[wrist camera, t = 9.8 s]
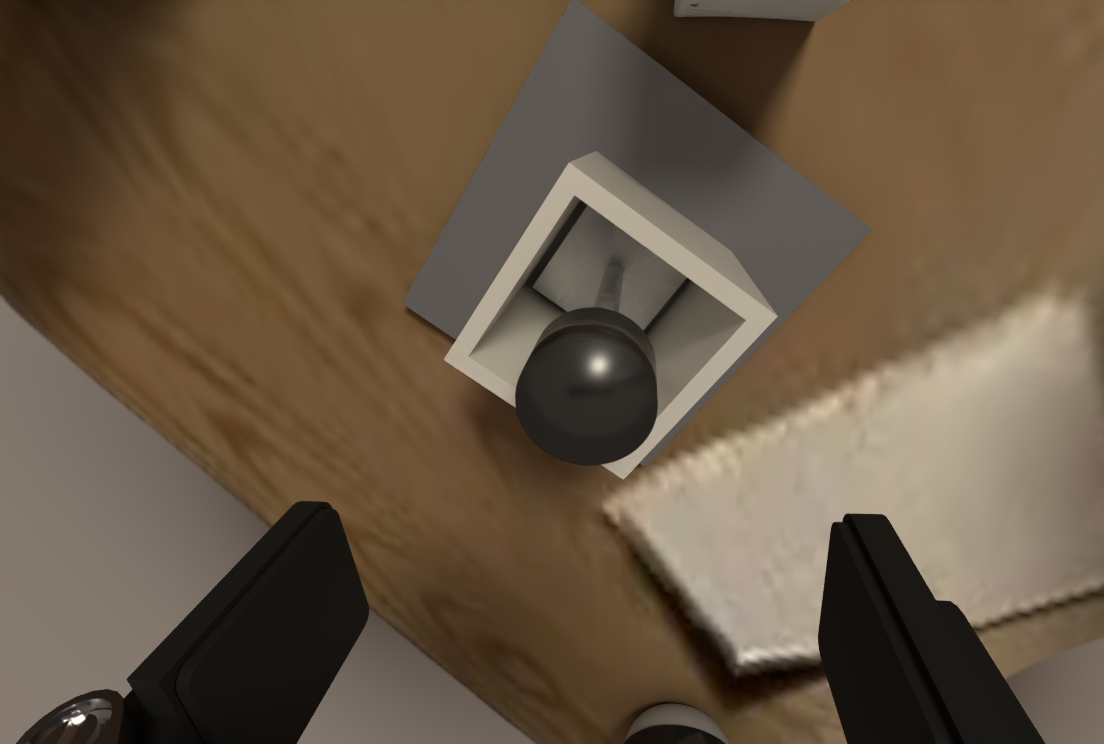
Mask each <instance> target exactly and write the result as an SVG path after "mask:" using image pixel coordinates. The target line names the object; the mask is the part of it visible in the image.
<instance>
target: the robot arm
mask: <svg viewBox="0 0 1104 744" xmlns="http://www.w3.org/2000/svg"><path fill="white" fill-rule="evenodd" d="M368 615H369V606H368V602H367V599H366V596H365V593H364V590H363V587H362V584H361V581H360V578H359V575H358V571H357V568H356V565H355V562H354V559H353V556H352V553H351V550H350V547H349V544H348V541H347V538H346V535H345V532H344V529H343V526H342V523H341V520H340V517H339V514H338V512H337V511H336V510H334V509H332V507H331V505H330V504H329V503H327V502H313V501H300V502H297V503H295V504H294V505H293V506H292V507H291V508H290V509H289V510H288V511H287V512H286V513H285V514H284V515H283V516H282V517H281V518H280V519H279V520H278V521H277V522H276V523H275V525H274V526H273V527H272V528H271V529H270V530H269V531H268V532H267V533H266V534H265V535H264V536H263V537H262V538H261V539H260V540H259V541H258V542H257V543H256V545H254V546H253V548H252V549H251V550H250V551H249V552H248V553H247V554H246V555H245V556H244V557H243V558H242V559H241V560H240V561H239V562H238V563H237V564H236V565H235V566H234V567H233V568H232V570H231V571H230V572H229V573H228V574H227V575H226V576H225V577H224V578H223V579H222V580H221V581H220V582H219V583H218V584H217V585H216V586H215V587H214V588H213V589H212V590H211V592H210V593H209V594H208V595H207V596H206V597H205V598H204V599H203V600H202V601H201V602H200V603H199V604H198V605H197V606H196V607H195V608H194V609H193V610H192V611H191V612H190V613H189V614H188V615H187V617H186V618H185V619H184V620H183V621H182V622H181V623H180V624H179V625H178V626H177V627H176V628H175V629H174V630H173V631H172V632H171V633H170V634H169V635H168V636H167V637H166V639H164V641H163V642H162V643H161V644H160V645H159V646H158V647H157V648H156V649H155V650H154V651H153V652H152V653H151V654H150V655H149V656H148V658H146V659H145V660H144V661H143V662H142V664H141V665H140V666H139V667H138V668H137V669H136V670H135V671H134V672H133V673H132V674H131V675H130V676H129V677H128V679H127V681H128V682H129V684H130V686H131V687H132V691H131V692H130V693H129V694H128V695H127V696H126V697H125V698H123V697H122V696H121V695H120V694H119V693H118V692H117V691H112V690H108V689H105V690H98V691H92V692H89V693H86V694H83V695H80V696H77V697H75V698H73V699H71V700H70V701H67V702H66V703H64V704H62V705H60V706H58V707H57V708H56V709H54V710H52V711H51V712H50V713H48V714H47V715H45V716H44V717H42V718H41V719H40V720H39V721H38V722H36V723H35V724H34V725H33V726H32V727H31V728H30V729H29V730H28V731H26V732H25V733H24V735H23V736H22V737H21V738H20V739H19V741H18V742H17V743H16V744H297V742H298V740H299V738H300V737H301V735H302V733H303V731H304V730H305V728H306V726H307V725H308V723H309V721H310V719H311V718H312V716H313V714H314V713H315V711H316V709H317V707H318V706H319V704H320V702H321V700H322V699H323V697H324V695H325V694H326V692H327V690H328V688H329V687H330V685H331V683H332V682H333V680H334V678H335V676H336V675H337V673H338V671H339V670H340V668H341V666H342V665H343V663H344V661H345V659H346V658H347V656H348V654H349V652H350V651H351V649H352V647H353V646H354V644H355V642H356V640H357V639H358V637H359V635H360V634H361V632H362V630H363V628H364V627H365V625H366V622H367V619H368ZM818 644H819V651H820V656H821V660H822V663H823V666H824V670H825V673H826V676H827V679H828V682H829V686H830V689H831V692H832V695H833V699H834V702H835V705H836V708H837V712H838V715H839V718H840V721H841V724H842V728H843V731H844V734H845V737H846V741H847V744H1045V743H1044V741H1043V739H1042V738H1041V736H1040V735H1039V733H1038V731H1037V730H1036V728H1035V727H1034V725H1033V723H1032V722H1031V720H1030V719H1029V717H1028V716H1027V714H1026V712H1025V711H1024V709H1023V708H1022V706H1021V704H1020V703H1019V701H1018V700H1017V698H1016V697H1015V695H1014V693H1013V692H1012V690H1011V689H1010V687H1009V685H1008V684H1007V682H1006V681H1005V679H1004V677H1003V676H1002V674H1001V673H1000V671H999V669H998V668H997V666H996V665H995V663H994V662H993V660H992V658H991V657H990V655H989V654H988V652H987V650H986V649H985V647H984V646H983V644H982V642H981V641H980V639H979V638H978V636H977V635H976V633H975V631H974V630H973V628H972V627H971V625H970V623H969V622H968V620H967V619H966V617H965V615H964V614H963V613H962V612H961V610H960V609H959V608H958V606H956V605H955V604H954V603H952V602H951V601H937V600H935V598H934V596H933V594H932V593H931V591H930V589H929V588H928V586H927V584H926V583H925V581H924V579H923V578H922V576H921V574H920V572H919V571H918V569H917V567H916V566H915V564H914V562H913V561H912V559H911V557H910V555H909V554H908V552H907V550H906V549H905V547H904V545H903V544H902V542H901V540H900V539H899V537H898V535H897V533H896V532H895V530H894V528H893V527H892V525H891V523H890V522H889V520H888V519H887V517H886V516H884V515H882V514H845V516H844V518H843V522H834V523H833V524H832V527H831V533H830V541H829V550H828V558H827V566H826V574H825V583H824V591H823V599H822V607H821V616H820V624H819V632H818Z"/></svg>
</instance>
